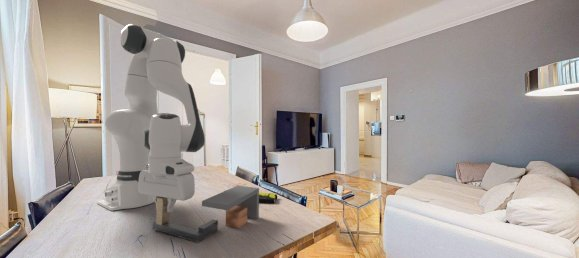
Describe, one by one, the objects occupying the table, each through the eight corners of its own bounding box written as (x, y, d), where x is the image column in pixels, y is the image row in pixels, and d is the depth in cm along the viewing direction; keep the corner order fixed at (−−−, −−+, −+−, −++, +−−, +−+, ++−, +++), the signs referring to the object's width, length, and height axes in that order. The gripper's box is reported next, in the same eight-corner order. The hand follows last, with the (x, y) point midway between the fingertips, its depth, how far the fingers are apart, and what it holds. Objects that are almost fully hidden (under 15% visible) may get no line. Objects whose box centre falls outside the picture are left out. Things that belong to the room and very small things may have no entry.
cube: (225, 225, 69) (225, 210, 69) (234, 219, 74) (234, 205, 74) (238, 228, 67) (238, 212, 67) (247, 222, 72) (247, 207, 72)
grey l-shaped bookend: (201, 236, 62) (201, 201, 62) (237, 213, 78) (237, 185, 78) (227, 242, 58) (227, 205, 58) (258, 217, 75) (258, 188, 75)
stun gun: (271, 204, 81) (278, 192, 96) (224, 201, 84) (237, 190, 99) (271, 212, 81) (277, 199, 96) (223, 209, 84) (237, 196, 99)
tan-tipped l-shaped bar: (151, 229, 64) (152, 196, 64) (174, 218, 72) (175, 189, 72) (197, 243, 58) (199, 207, 58) (217, 229, 66) (218, 198, 66)
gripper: (132, 164, 66) (131, 208, 66) (181, 170, 58) (180, 219, 58) (151, 161, 72) (151, 202, 72) (198, 166, 64) (197, 211, 64)
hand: (164, 210), depth 65 cm, fingers closed on tan-tipped l-shaped bar, 2 cm apart
